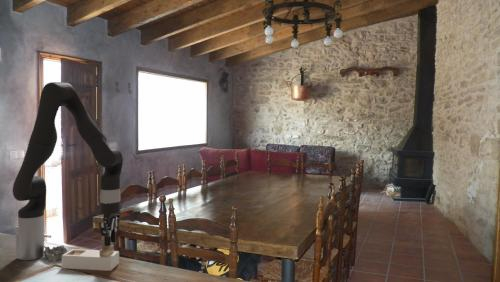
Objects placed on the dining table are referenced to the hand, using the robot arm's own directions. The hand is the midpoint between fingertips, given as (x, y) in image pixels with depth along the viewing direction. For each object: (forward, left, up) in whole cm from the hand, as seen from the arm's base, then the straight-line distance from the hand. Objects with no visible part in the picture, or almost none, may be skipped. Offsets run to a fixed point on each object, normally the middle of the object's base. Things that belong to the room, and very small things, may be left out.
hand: (110, 243), depth 148 cm
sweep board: (-8, 0, -9) cm, 12 cm away
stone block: (-11, 0, -7) cm, 13 cm away
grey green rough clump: (-26, +7, -9) cm, 29 cm away
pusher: (-1, 0, -4) cm, 4 cm away
